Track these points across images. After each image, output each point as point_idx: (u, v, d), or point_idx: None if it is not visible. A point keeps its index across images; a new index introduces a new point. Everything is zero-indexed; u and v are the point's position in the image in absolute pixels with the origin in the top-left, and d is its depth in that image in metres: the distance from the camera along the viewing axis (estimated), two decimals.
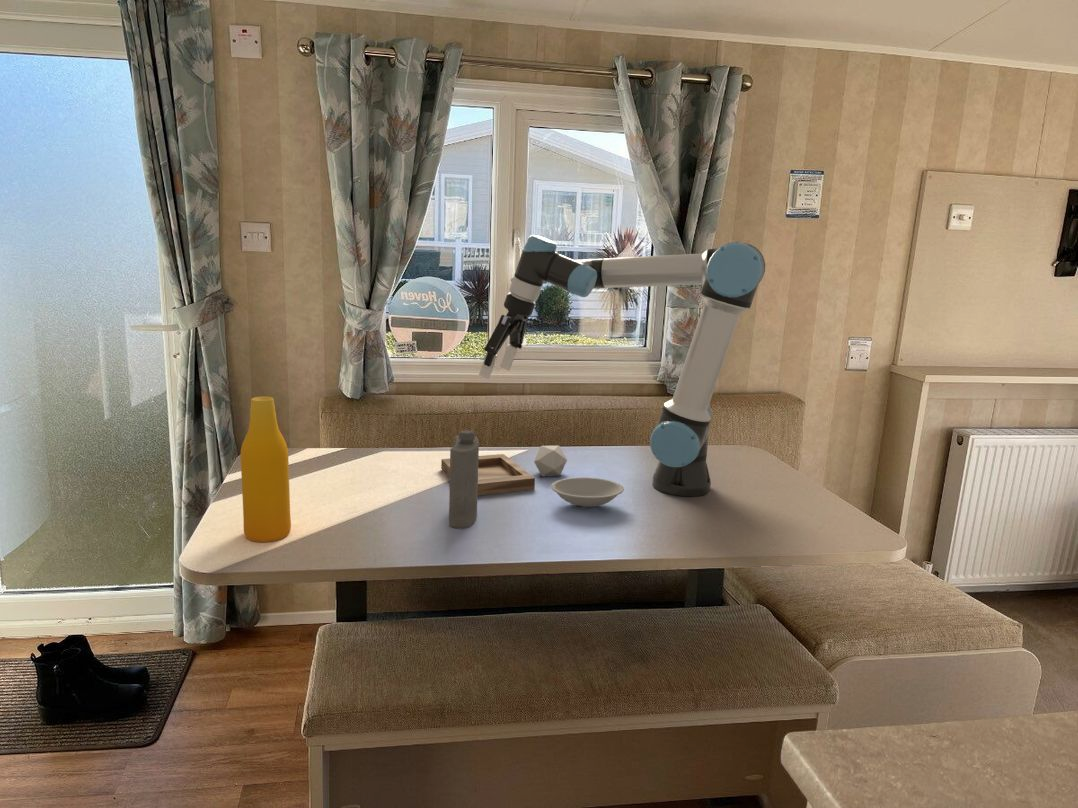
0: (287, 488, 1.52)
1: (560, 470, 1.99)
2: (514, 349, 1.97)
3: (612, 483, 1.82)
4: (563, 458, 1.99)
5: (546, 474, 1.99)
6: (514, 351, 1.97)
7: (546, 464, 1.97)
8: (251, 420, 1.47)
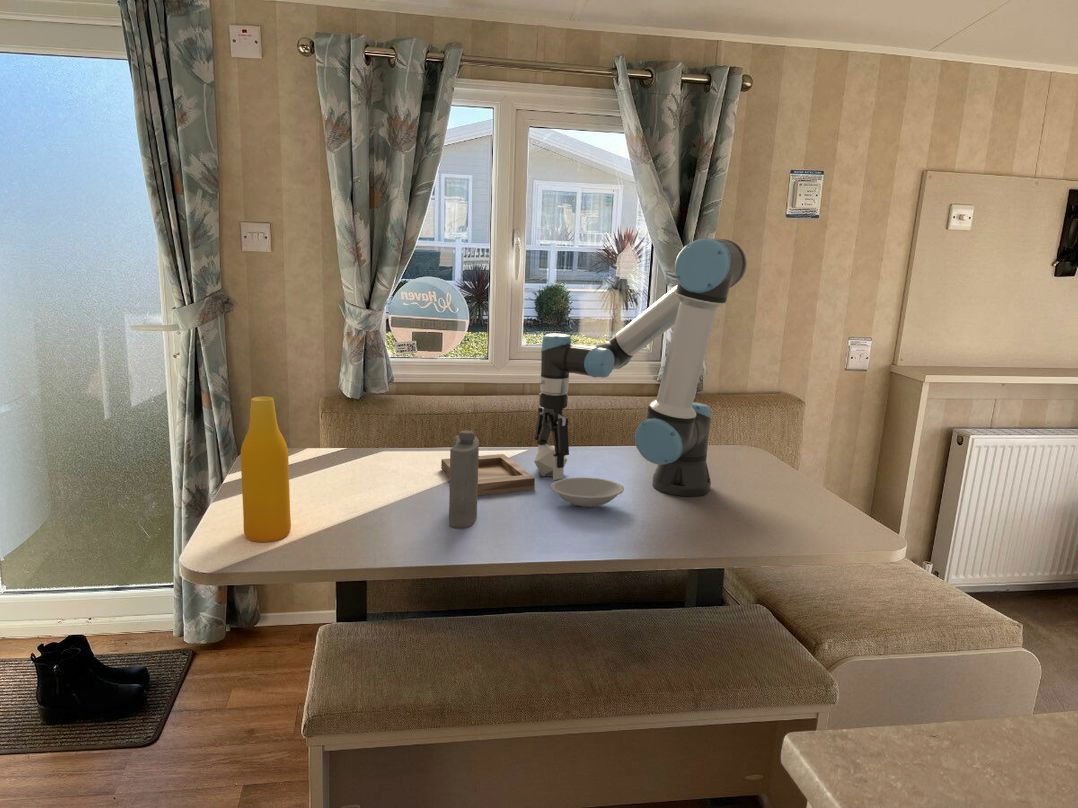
0: (287, 488, 1.52)
1: None
2: None
3: (612, 483, 1.82)
4: None
5: (546, 474, 1.99)
6: None
7: (546, 464, 1.97)
8: (251, 420, 1.47)
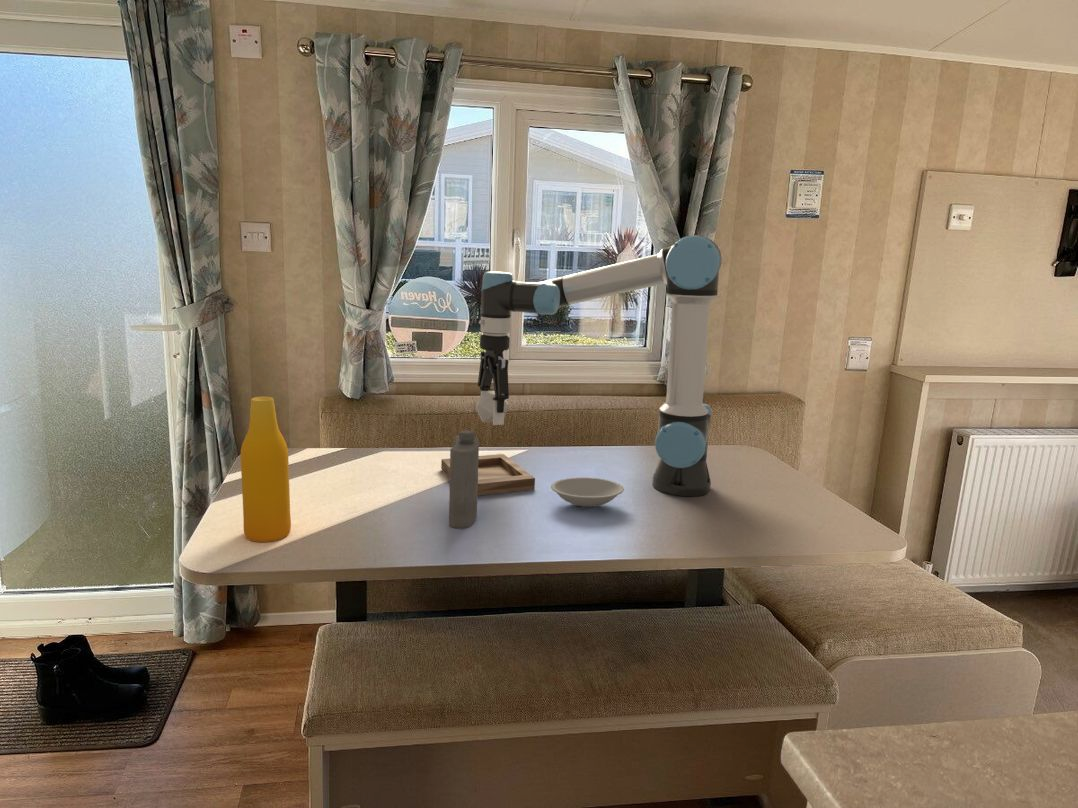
0: (287, 488, 1.52)
1: None
2: None
3: (612, 483, 1.82)
4: (505, 403, 1.89)
5: (487, 420, 1.90)
6: None
7: (486, 409, 1.88)
8: (251, 420, 1.47)
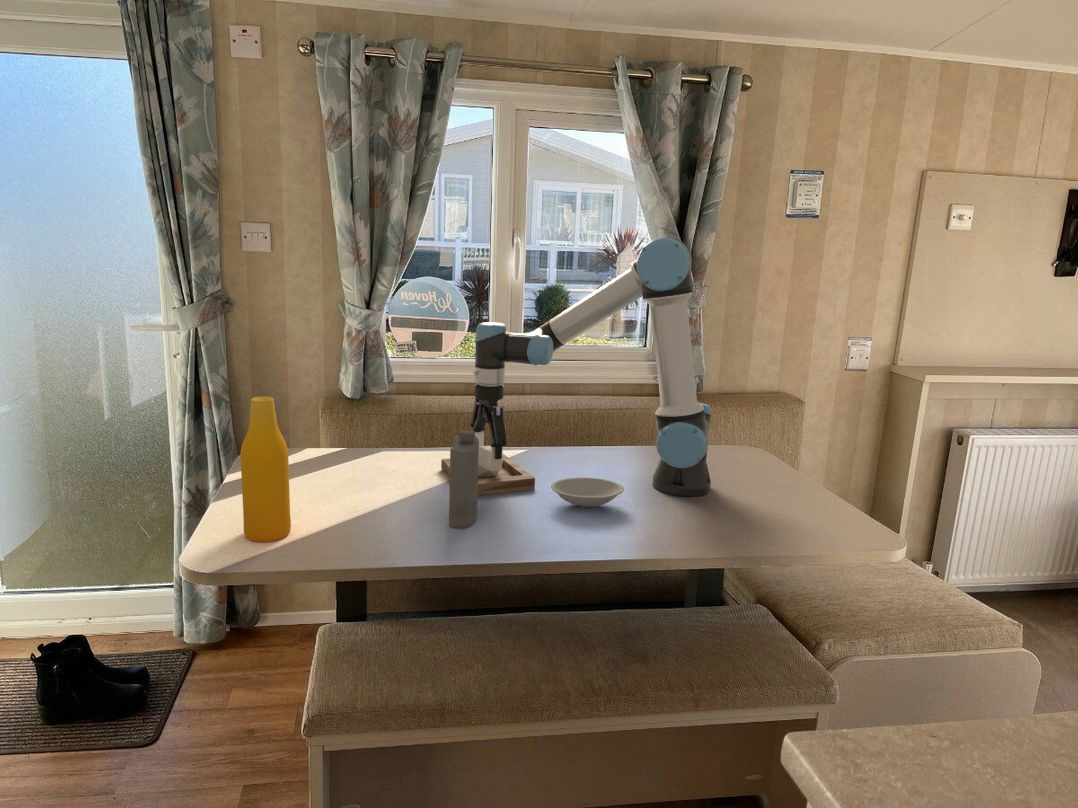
0: (287, 488, 1.52)
1: (496, 471, 1.93)
2: (482, 433, 1.99)
3: (612, 483, 1.82)
4: None
5: (482, 475, 1.93)
6: (482, 435, 1.99)
7: (481, 465, 1.90)
8: (251, 420, 1.47)
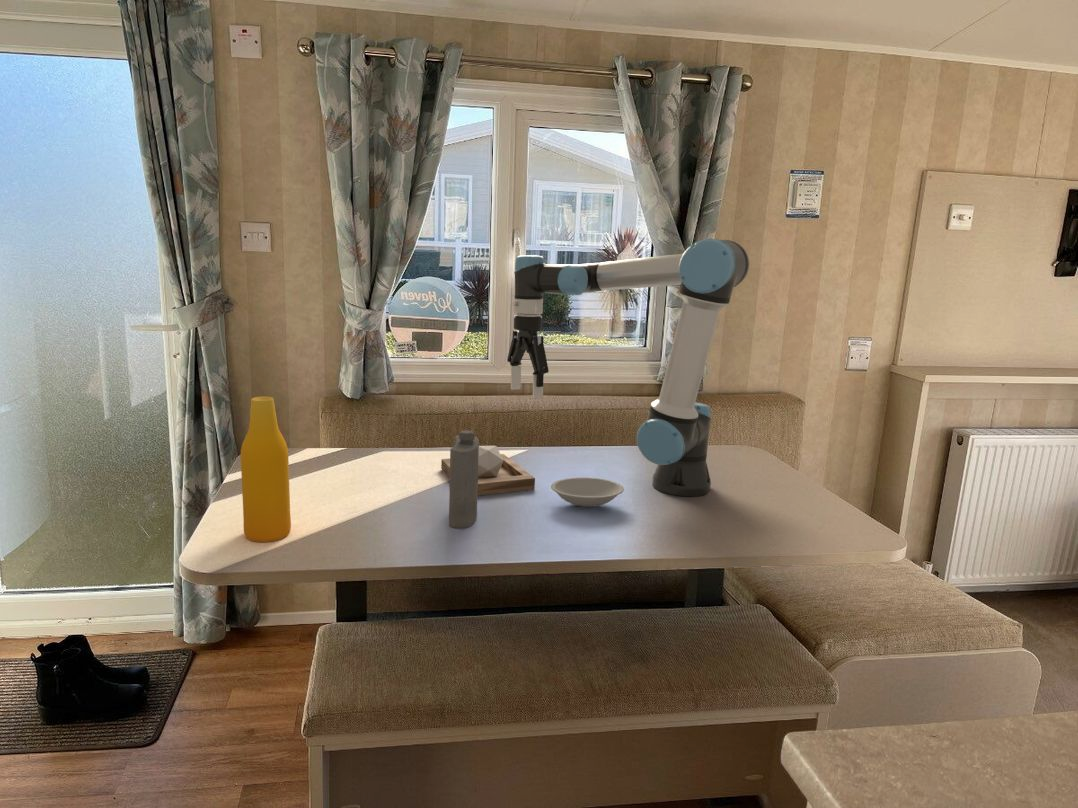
0: (287, 488, 1.52)
1: (496, 471, 1.93)
2: (519, 367, 2.05)
3: (612, 483, 1.82)
4: (499, 459, 1.92)
5: (482, 475, 1.93)
6: (520, 369, 2.05)
7: (481, 465, 1.90)
8: (251, 420, 1.47)
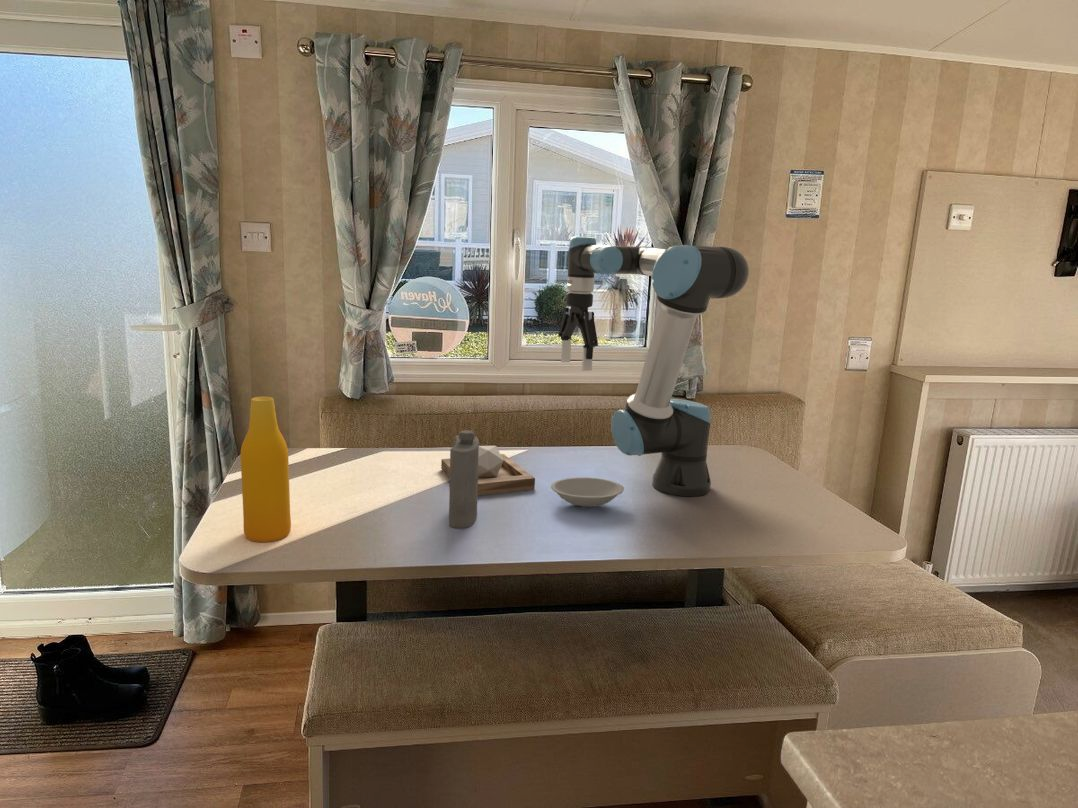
0: (287, 488, 1.52)
1: (496, 471, 1.93)
2: (569, 341, 2.19)
3: (612, 483, 1.82)
4: (499, 459, 1.92)
5: (482, 475, 1.93)
6: (570, 343, 2.20)
7: (481, 465, 1.90)
8: (251, 420, 1.47)
